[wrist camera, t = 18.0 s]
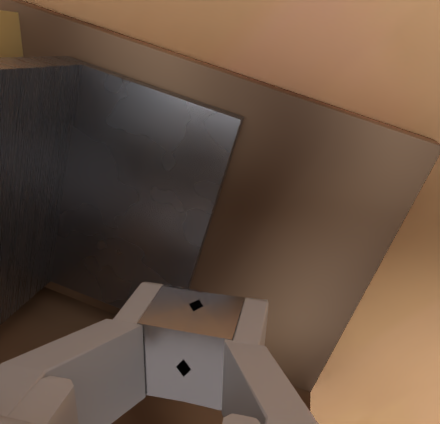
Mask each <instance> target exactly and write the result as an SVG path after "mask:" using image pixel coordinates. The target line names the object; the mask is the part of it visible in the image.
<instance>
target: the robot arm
mask: <svg viewBox="0 0 440 424" xmlns="http://www.w3.org/2000/svg"><path fill="white" fill-rule="evenodd" d="M267 316H268V300H265V299H257V298H248V297H247V298H245V297H238V296H231V295H223V294H215V293H207V292H205V291H199V290H193V289H188V288H182V287H176V286H170V285H163V284H159V283H152V282H142V283H141V284H140V285H139V286H138V287H137V289H136V290H135V291H134V293H133V294H132V295H131V296H130V298H129V299H128V300H127V302H126V303H125V304H124V306H123V307H122V308H121V309H120V311H119V312H118V313H117V315H116V316H115V317H114V318H113V320H112V319H105V320H102V321H100V322H97V323H95V324H93V325H90V326H88V327H86V328H83V329H81V330H79V331H76V332H74V333H71V334H69V335H67V336H64V337H62V338H60V339H57V340H55V341H53V342H50V343H48V344H45V345H43V346H41V347H38V348H36V349H34V350H31V351H29V352H27V353H24V354H22V355H19V356H17V357H15V358H12V359H10V360H8V361H5V362H3V363H1V364H0V424H112V423H113V422H114V421H115V420H117V419H118V418H119V417H121V416H122V415H123V414H124V413H126V412H127V411H128V410H130V409H131V408H132V407H133V406H135V405H136V404H137V403H139V402H140V401H141V400H143V399H144V398H145V397H146V395H149V396H155V397H160V398H166V399H172V400H177V401H183V402H187V403H191V404H196V405H200V406H204V407H208V408H212V409H217V410H221V411H222V416H223V422H222V424H318V423H317V421H316V420H315V418H314V417H313V415H312V414H311V412H310V411H309V409H308V408H307V406H306V405H305V403H304V402H303V400H302V399H301V397H300V396H299V394H298V393H297V391H296V390H295V389H294V387H293V386H292V384H291V383H290V381H289V380H288V378H287V377H286V375H285V374H284V372H283V371H282V369H281V368H280V366H279V365H278V363H277V362H276V360H275V359H274V357H273V356H272V354H271V353H270V352H269V350H268V349H267V347H266V346H265V337H266V326H267Z"/></svg>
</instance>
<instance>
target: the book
mask: <svg viewBox="0 0 440 424" xmlns="http://www.w3.org/2000/svg"><path fill="white" fill-rule="evenodd" d="M0 57H23V49H22V40H21V31H20V23H19V14H18V12H10V11H3V10H0Z"/></svg>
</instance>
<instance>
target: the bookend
mask: <svg viewBox="0 0 440 424" xmlns="http://www.w3.org/2000/svg"><path fill="white" fill-rule="evenodd" d="M243 119H244V117H243V116H240V115H237V114H234V113H232V112H229V111H226V110H223V109H220V108H217V107H214V106H211V105H208V104H206V103H203V102H200V101H197V100H194V99H191V98H188V97H185V96H182V95H180V94H177V93H174V92H171V91H168V90H165V89H162V88H159V87H156V86H154V85H151V84H148V83H145V82H142V81H139V80H136V79H133V78H130V77H128V76H125V75H122V74H119V73H116V72H113V71H110V70H107V69H104V68H102V67H99V66H96V65H93V64H90V63H87V62H84V61H81V60H78V59H76V58H73V57H70V56H43V57H0V325H1V324H2V323H3V322H5V321H6V320H7V319H8V318H9V317H10V316H11V315H12V314H14V313H15V312H16V311H17V310H18V309H19V308H20V307H22V306H23V305H24V304H25V303H26V302H27V301H28V300H30V299H31V298H32V297H33V296H34V295H35V294H36V293H38V292H39V291H40V290H41V289H42V288H43V287H44V286H46V285H47V284H48V283H49V282H50V281H51V282H54V283H56V284H59V285H61V286H64V287H66V288H69V289H71V290H74V291H76V292H79V293H81V294H84V295H86V296H89V297H92V298H94V299H97V300H99V301H102V302H104V303H107V304H109V305H112V306H114V307H117V308H119V309H121V308H122V307H123V306H124V304H125V303H126V302H127V300H128V299H129V298H130V296H131V295H132V294H133V293H134V291H135V290H136V289H137V287H138V286H139V285H140V284H141V283H142V282H152V283H159V284H163V285H170V286H176V287H182V288H188V289H189V287H190V284H191V281H192V278H193V275H194V272H195V269H196V266H197V263H198V259H199V256H200V253H201V250H202V247H203V244H204V241H205V238H206V234H207V231H208V228H209V225H210V222H211V219H212V216H213V213H214V210H215V206H216V203H217V200H218V197H219V194H220V191H221V188H222V185H223V181H224V178H225V175H226V172H227V169H228V166H229V163H230V160H231V157H232V153H233V150H234V147H235V144H236V141H237V138H238V135H239V132H240V129H241V125H242V122H243Z"/></svg>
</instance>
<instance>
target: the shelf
mask: <svg viewBox="0 0 440 424" xmlns="http://www.w3.org/2000/svg"><path fill="white" fill-rule="evenodd" d="M0 10H3V11H10V12H18V14H19V23H20V31H21V40H22V49H23V57H43V56H70V57H73V58H76V59H78V60H81V61H84V62H87V63H90V64H93V65H96V66H99V67H102V68H104V69H107V70H110V71H113V72H116V73H119V74H122V75H125V76H128V77H130V78H133V79H136V80H139V81H142V82H145V83H148V84H151V85H154V86H156V87H159V88H162V89H165V90H168V91H171V92H174V93H177V94H180V95H182V96H185V97H188V98H191V99H194V100H197V101H200V102H203V103H206V104H208V105H211V106H214V107H217V108H220V109H223V110H226V111H229V112H232V113H234V114H237V115H240V116H243V117H244V119H243V122H242V125H241V129H240V132H239V135H238V138H237V141H236V144H235V147H234V150H233V153H232V157H231V160H230V163H229V166H228V169H227V172H226V175H225V178H224V181H223V185H222V188H221V191H220V194H219V197H218V200H217V203H216V206H215V210H214V213H213V216H212V219H211V222H210V225H209V228H208V231H207V234H206V238H205V241H204V244H203V247H202V250H201V253H200V256H199V259H198V263H197V266H196V269H195V272H194V275H193V278H192V281H191V284H190V287H189V289H193V290H199V291H205V292H207V293H215V294H223V295H231V296H238V297H245V298H247V297H248V298H257V299H265V300H268V316H267V326H266V337H265V346H266V347H267V349H268V350H269V352H270V353H271V354H272V356H273V357H274V359H275V360H276V362H277V363H278V365H279V366H280V368H281V369H282V371H283V372H284V374H285V375H286V377H287V378H288V380H289V381H290V383H291V384H292V386H293V387H294V389H295V390H296V391H297V393H298V394H299V396H300V397H301V399H302V400H303V402H304V403H305V405H306V406H307V408H308V409H309V411H310V392H311V390H312V388H313V386H314V385H315V383H316V381H317V379H318V377H319V375H320V374H321V372H322V370H323V368H324V366H325V364H326V363H327V361H328V359H329V357H330V355H331V353H332V352H333V350H334V348H335V346H336V344H337V342H338V340H339V339H340V337H341V335H342V333H343V331H344V329H345V328H346V326H347V324H348V322H349V320H350V318H351V317H352V315H353V313H354V311H355V309H356V307H357V306H358V304H359V302H360V300H361V298H362V296H363V295H364V293H365V291H366V289H367V287H368V285H369V284H370V282H371V280H372V278H373V276H374V274H375V273H376V271H377V269H378V267H379V265H380V263H381V262H382V260H383V258H384V256H385V254H386V252H387V251H388V249H389V247H390V245H391V243H392V241H393V239H394V238H395V236H396V234H397V232H398V230H399V228H400V227H401V225H402V223H403V221H404V219H405V217H406V216H407V214H408V212H409V210H410V208H411V206H412V205H413V203H414V201H415V199H416V197H417V195H418V194H419V192H420V190H421V188H422V186H423V184H424V183H425V181H426V179H427V177H428V175H429V173H430V172H431V170H432V168H433V166H434V164H435V162H436V161H437V159H438V157H439V155H440V144H439V143H438V142H436V141H435V140H433V139H430V138H427V137H424V136H421V135H418V134H415V133H412V132H409V131H406V130H403V129H400V128H397V127H394V126H391V125H388V124H385V123H382V122H379V121H376V120H373V119H370V118H368V117H365V116H362V115H359V114H356V113H353V112H350V111H347V110H344V109H341V108H338V107H335V106H332V105H329V104H326V103H323V102H320V101H317V100H314V99H311V98H308V97H305V96H302V95H299V94H296V93H293V92H291V91H288V90H285V89H282V88H279V87H276V86H273V85H270V84H267V83H264V82H261V81H258V80H255V79H252V78H249V77H246V76H243V75H240V74H237V73H234V72H231V71H228V70H225V69H222V68H219V67H217V66H214V65H211V64H208V63H205V62H202V61H199V60H196V59H193V58H190V57H187V56H184V55H181V54H178V53H175V52H172V51H169V50H166V49H163V48H160V47H157V46H154V45H151V44H148V43H145V42H143V41H140V40H137V39H134V38H131V37H128V36H125V35H122V34H119V33H116V32H113V31H110V30H107V29H104V28H101V27H98V26H95V25H92V24H89V23H86V22H83V21H80V20H77V19H74V18H71V17H68V16H66V15H63V14H60V13H57V12H54V11H51V10H48V9H45V8H42V7H39V6H36V5H33V4H30V3H27V2H24V1H21V0H0ZM119 311H120V309H119V308H117V307H114V306H112V305H109V304H107V303H104V302H102V301H99V300H97V299H94V298H92V297H89V296H86V295H84V294H81V293H79V292H76V291H74V290H71V289H69V288H66V287H64V286H61V285H59V284H56V283H54V282H51V281H50V282H49V283H48V284H47V285H46V286H44V287H43V288H42V289H41V290H40V291H39V292H38V293H36V294H35V295H34V296H33V297H32V298H31V299H30V300H28V301H27V302H26V303H25V304H24V305H23V306H22V307H20V308H19V309H18V310H17V311H16V312H15V313H14V314H12V315H11V316H10V317H9V318H8V319H7V320H6V321H5V322H3V323H2V324H1V325H0V364H1V363H3V362H5V361H8V360H10V359H12V358H15V357H17V356H19V355H22V354H24V353H27V352H29V351H31V350H34V349H36V348H38V347H41V346H43V345H45V344H48V343H50V342H53V341H55V340H57V339H60V338H62V337H64V336H67V335H69V334H71V333H74V332H76V331H79V330H81V329H83V328H86V327H88V326H90V325H93V324H95V323H97V322H100V321H102V320H105V319H112V320H113V318H114V317H115V316H116V315H117V313H118V312H119ZM222 422H223V416H222V411H221V410H217V409H212V408H208V407H204V406H200V405H196V404H191V403H187V402H183V401H177V400H172V399H166V398H160V397H155V396H149V395H146V397H145V398H144V399H143V400H141V401H140V402H139V403H137V404H136V405H135V406H133V407H132V408H131V409H130V410H128V411H127V412H126V413H124V414H123V415H122V416H121V417H119V418H118V419H117V420H115V421H114V422H113V423H112V424H222Z"/></svg>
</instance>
